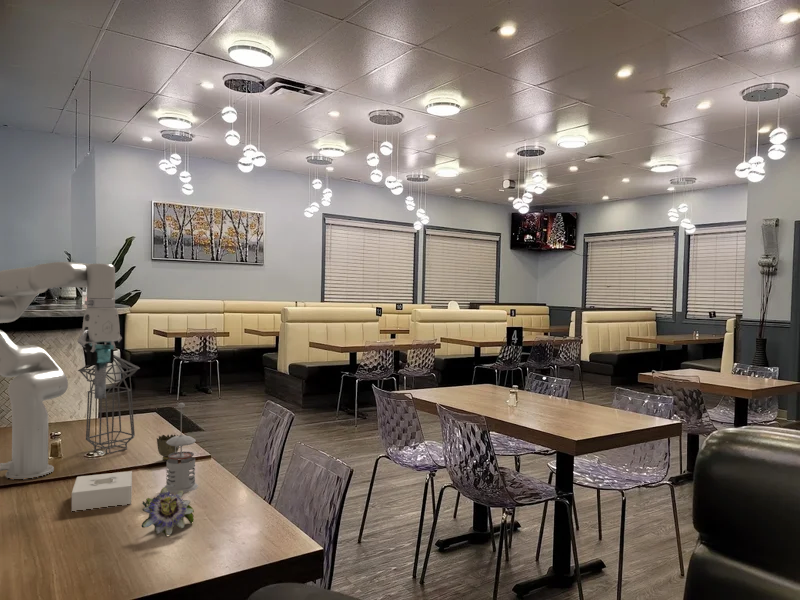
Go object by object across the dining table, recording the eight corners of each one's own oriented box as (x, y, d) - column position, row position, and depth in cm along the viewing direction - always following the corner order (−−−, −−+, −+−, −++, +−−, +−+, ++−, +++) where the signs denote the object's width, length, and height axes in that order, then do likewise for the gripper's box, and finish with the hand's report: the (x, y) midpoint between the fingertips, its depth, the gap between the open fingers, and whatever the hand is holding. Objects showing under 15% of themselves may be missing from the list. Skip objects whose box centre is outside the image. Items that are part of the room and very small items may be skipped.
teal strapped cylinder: (118, 397, 175) (119, 344, 175) (103, 400, 170) (104, 346, 170) (96, 395, 178) (97, 343, 178) (81, 398, 173) (81, 344, 173)
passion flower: (168, 558, 135) (141, 527, 129) (152, 535, 143) (125, 505, 137) (208, 523, 141) (184, 492, 135) (191, 502, 149) (167, 472, 142)
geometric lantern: (143, 448, 209) (142, 353, 208) (100, 460, 196) (100, 358, 194) (118, 441, 218) (117, 350, 216) (76, 452, 204) (75, 354, 203)
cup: (174, 463, 192) (174, 439, 192) (152, 463, 192) (152, 439, 192) (183, 457, 199) (183, 434, 199) (162, 456, 199) (162, 433, 199)
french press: (164, 495, 162) (165, 407, 161) (160, 483, 172) (161, 400, 172) (200, 490, 166) (201, 404, 166) (195, 478, 176) (195, 397, 176)
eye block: (71, 511, 149) (71, 492, 149) (76, 494, 162) (77, 476, 161) (131, 504, 155) (131, 485, 154) (131, 488, 167) (131, 471, 167)
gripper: (85, 305, 165) (85, 368, 165) (132, 304, 181) (132, 361, 181) (66, 304, 167) (66, 366, 167) (114, 303, 183) (114, 360, 183)
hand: (100, 363), depth 174 cm, fingers closed on teal strapped cylinder, 5 cm apart
